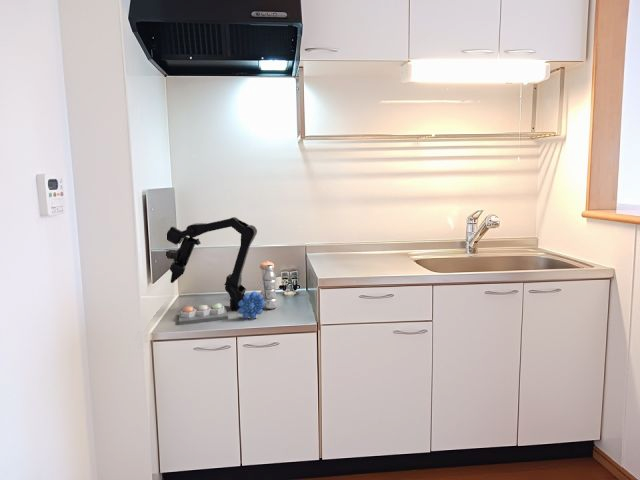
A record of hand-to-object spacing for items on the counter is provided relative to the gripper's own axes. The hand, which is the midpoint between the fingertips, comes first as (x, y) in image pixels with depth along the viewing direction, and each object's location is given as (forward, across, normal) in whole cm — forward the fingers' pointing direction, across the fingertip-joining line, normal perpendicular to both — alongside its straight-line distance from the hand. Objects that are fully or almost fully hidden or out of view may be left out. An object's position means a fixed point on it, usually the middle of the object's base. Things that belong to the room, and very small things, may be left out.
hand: (173, 279), depth 200 cm
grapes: (-5, +24, +37) cm, 44 cm away
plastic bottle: (-7, +12, +45) cm, 47 cm away
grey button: (+2, +17, +17) cm, 24 cm away
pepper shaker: (-6, -4, +46) cm, 46 cm away
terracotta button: (+5, +18, +12) cm, 22 cm away
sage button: (0, +16, +22) cm, 28 cm away
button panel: (+5, +17, +18) cm, 25 cm away
